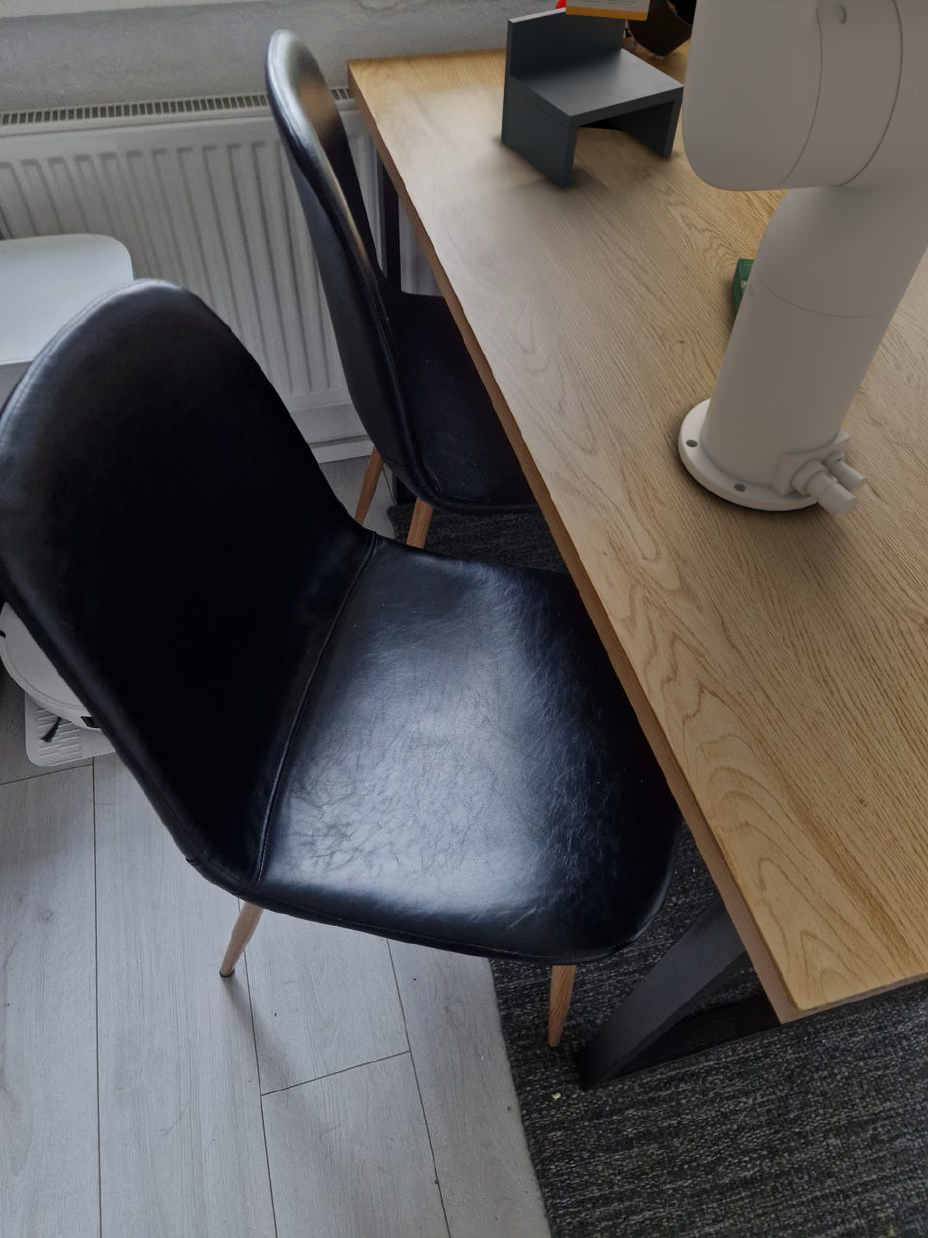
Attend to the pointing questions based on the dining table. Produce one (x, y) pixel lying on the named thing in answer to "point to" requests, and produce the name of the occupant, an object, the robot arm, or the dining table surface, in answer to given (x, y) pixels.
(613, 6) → the supplement box
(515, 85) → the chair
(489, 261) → the dining table surface
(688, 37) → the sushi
